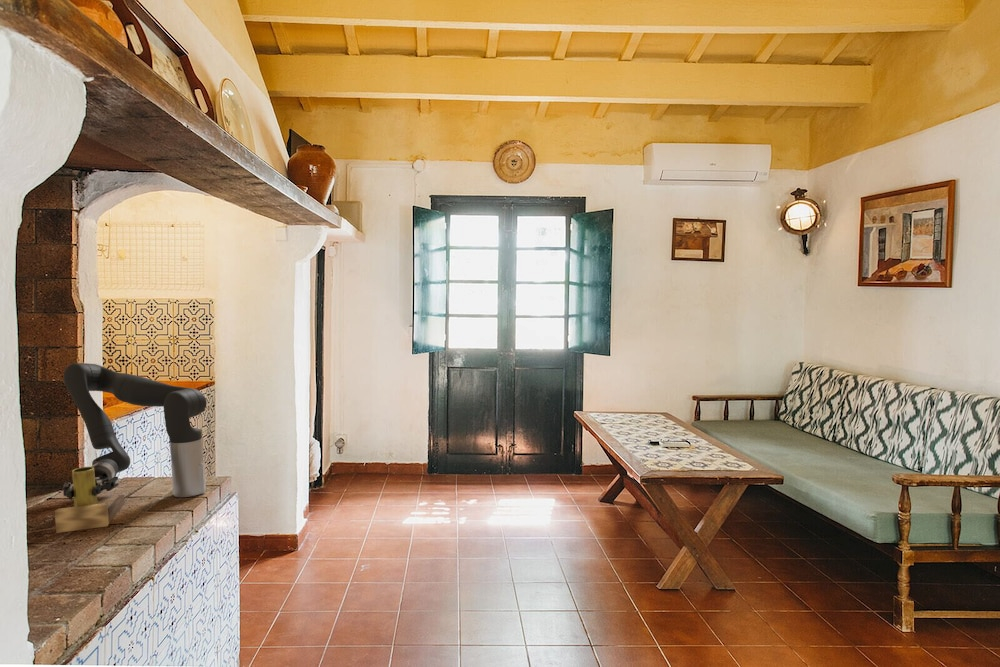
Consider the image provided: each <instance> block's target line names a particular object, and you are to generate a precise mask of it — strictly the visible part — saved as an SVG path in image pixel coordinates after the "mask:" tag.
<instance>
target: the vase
mask: <svg viewBox="0 0 1000 667" xmlns="http://www.w3.org/2000/svg"><path fill="white" fill-rule="evenodd" d="M71 478H72V484H73V489H74V497H73V506H74V507H76V506H85V505H93V504H99V503H98V495H97V496H94V495H93V488H94V487H95V486H96V483H95V472H94V467H91V466H82V467H77V468H74V469H72V470H71Z"/></svg>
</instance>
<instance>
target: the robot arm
mask: <svg viewBox="0 0 1000 667" xmlns="http://www.w3.org/2000/svg"><path fill="white" fill-rule="evenodd" d="M63 382H64V385H65V388H66V389H67V391H68V393H69V395H70V397H71V399H72V400H73V402H74V404H75V406H76V408H77V409H78V411H79V414H80V416H81V417H82V419H83V422H84V424H85V427H86V430H87V434H88V436H89V440H90V443H91V446H92V448H93V449H95V450H98V451H99V450H105V449H111V450H112V451H111V452H108V453H104V454H103V455H100V456H98V457H96V458H94V459H93V460H92V463H91V466H90V467H94V472H95V483H96V486H95V487H94V488H93V495H94V496H97V497H98V495H100V494H101V493H104V491H106V492H110V491H112V490H113V489H115V488H116V487H118V486H119V476H116V475H117V474H118V473H121V472H123V471H126V470H128V468H129V467H130V465H131V458H130V456H129V454H128V453H127V451H126V450H125V449H124V448H123V446H122V444H121V443H120V442H119V440H118V438H117V436H116V433H115V429H114V426H113V423H112V420H111V419H110V417H109V416H108V414H106V412H105V411H104V410H103V409H102V408H101V407H100V405H98V404H97V402H96V401H95V400H94V399H93V398H94V397H92V395H91V393H90V392H103V393H107V394H108V393H109V394H112V395H113V396H114V397H115V398H116V399H118V400H119V401H120V402H123V403H126V404H129V405H130V404H131V405H135V406H138V407H140V406H141V407H161V408H162V407H163V415H164V424H165V429H166V433H167V435H168V439H169V450H170V462H171V463H170V464H171V477H172V493H173V497H175V498H187V497H188V498H189V497H194V496H198V495H202V494H203V495H204V494H205V493H206V490H207V482H206V466H205V465H206V464H205V459H204V448H203V435H202V430H201V429H200V428H197V427H193V426H192V425H191V421H190V418H193V417H196V416H197V417H198V416H199V415H201V414H202V413H203V412H204V411H205V410H206V408H207V403H208V402H207V399H206V396H205V395H204V394H203V392H201V391H200V390H199V389H195V388H193V387H192V388H191V387H184V386H178V385H177V386H176V385H172V384H167V383H165V382H161V381H157V380H153V379H150V378H147V377H143V376H139V375H135V374H131V373H130V374H129V373H123V372H117V371H115V370H112V369H110V368H107V367H105V366H102V365H100V364H97V363H86V362H85V363H83V362H75V363H73V362H72V363H70V364H69V365H68V366H66V368H65V369H64V371H63ZM62 491H63V496H64V497H66V498H68V499H69V500H71V499H74V489H73V483H71V482H69V481H66V482H63V487H62Z"/></svg>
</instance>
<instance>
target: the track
mask: <svg viewBox="0 0 1000 667" xmlns="http://www.w3.org/2000/svg"><path fill="white" fill-rule="evenodd" d="M125 502H126V501H125V494H118V495H117V497H116V498H114V500H113V501H112V503H111V504H110V505H109V504H108V502H101V503H98V504H93V505H85V506H76V507H74V505H72V506H70V507H61V508H56V509H55V510H54V519H55V520H54V521H55V532H56V534H58V533H66V532H67V533H68V532H72V531H82V530H88V529H95V528H103V527H108V526H109V524H110V523H112V520H113V519H114V518H115V516H116V515H117V513H118V512H119V511H120V510H121V509H122V507H123V506H124V504H126V503H125ZM108 505H109V506H108Z"/></svg>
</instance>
